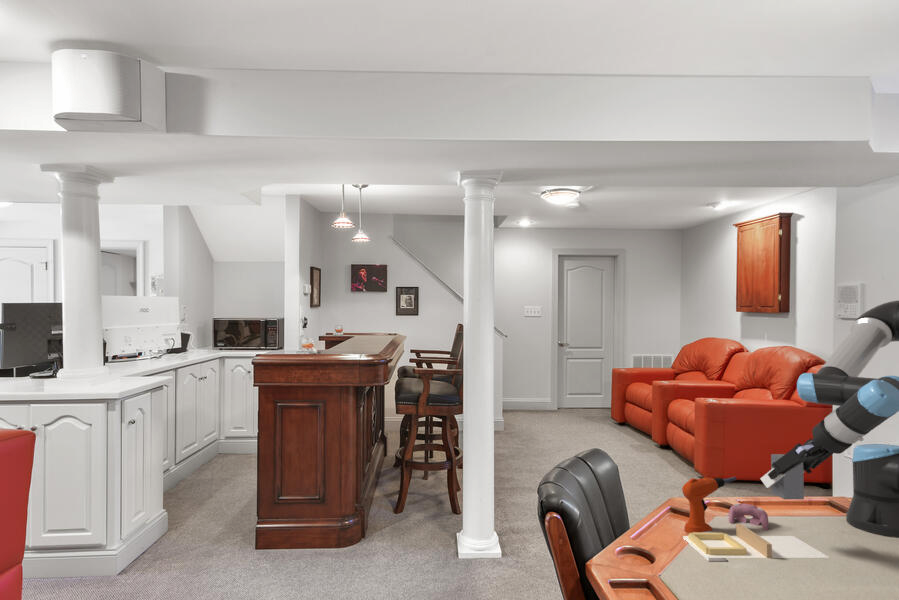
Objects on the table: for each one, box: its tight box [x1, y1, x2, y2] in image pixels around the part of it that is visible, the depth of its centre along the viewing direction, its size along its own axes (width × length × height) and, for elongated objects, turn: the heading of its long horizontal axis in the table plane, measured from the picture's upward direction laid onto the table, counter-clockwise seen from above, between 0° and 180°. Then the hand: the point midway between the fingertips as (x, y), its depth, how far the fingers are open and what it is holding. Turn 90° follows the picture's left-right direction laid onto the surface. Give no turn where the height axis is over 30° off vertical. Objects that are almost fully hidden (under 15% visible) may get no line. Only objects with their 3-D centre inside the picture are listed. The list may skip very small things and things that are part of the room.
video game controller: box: [728, 503, 769, 531], centre depth 151 cm, size 10×5×7 cm, turn 58°
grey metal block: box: [770, 453, 805, 500], centre depth 136 cm, size 5×5×10 cm
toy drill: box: [681, 476, 737, 534], centre depth 148 cm, size 5×19×15 cm, turn 108°
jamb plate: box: [682, 523, 830, 562], centre depth 135 cm, size 30×13×4 cm, turn 92°
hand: (774, 481), depth 139 cm, fingers closed on grey metal block, 6 cm apart
